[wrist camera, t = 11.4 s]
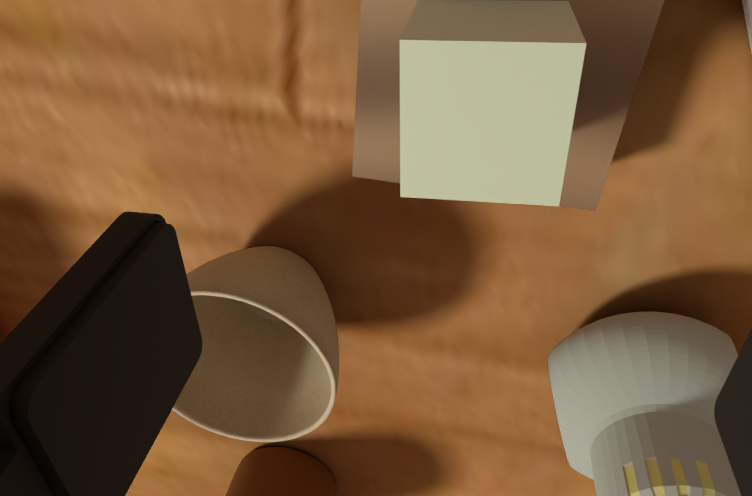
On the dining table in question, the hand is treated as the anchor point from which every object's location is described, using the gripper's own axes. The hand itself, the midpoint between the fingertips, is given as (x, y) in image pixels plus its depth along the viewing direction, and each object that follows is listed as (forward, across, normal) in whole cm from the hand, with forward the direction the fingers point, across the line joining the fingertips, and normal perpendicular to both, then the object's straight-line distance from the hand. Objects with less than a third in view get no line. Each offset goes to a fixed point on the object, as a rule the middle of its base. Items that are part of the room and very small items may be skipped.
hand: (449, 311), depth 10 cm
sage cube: (+14, 0, +1) cm, 14 cm away
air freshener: (+18, -10, +18) cm, 27 cm away
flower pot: (+18, +10, +15) cm, 25 cm away
